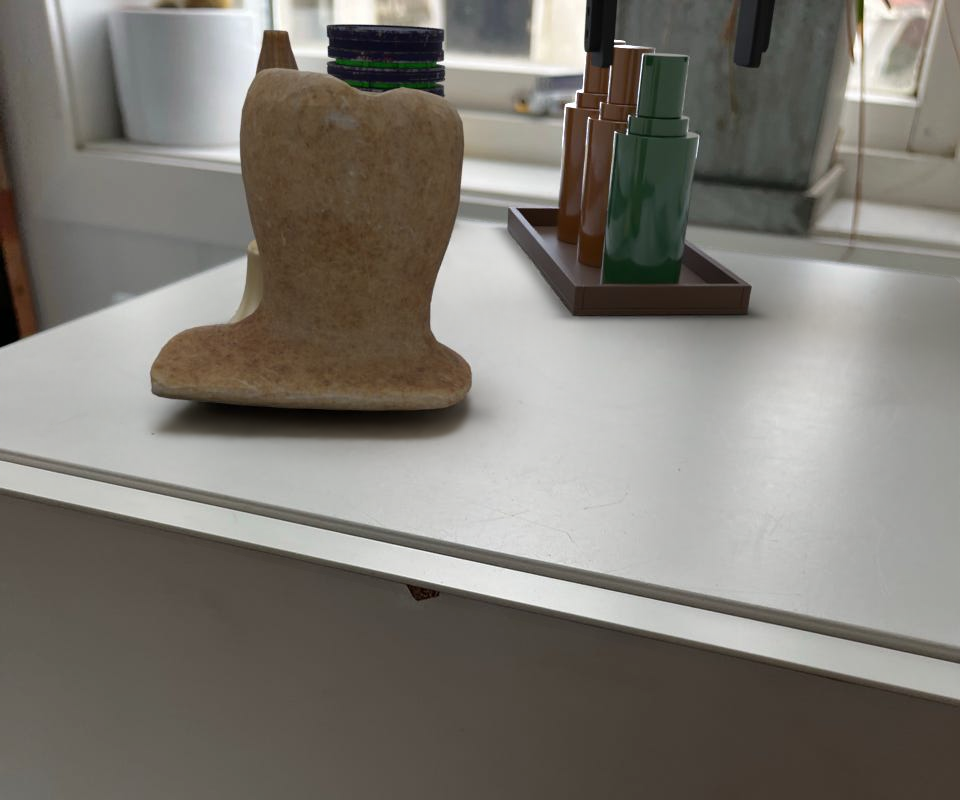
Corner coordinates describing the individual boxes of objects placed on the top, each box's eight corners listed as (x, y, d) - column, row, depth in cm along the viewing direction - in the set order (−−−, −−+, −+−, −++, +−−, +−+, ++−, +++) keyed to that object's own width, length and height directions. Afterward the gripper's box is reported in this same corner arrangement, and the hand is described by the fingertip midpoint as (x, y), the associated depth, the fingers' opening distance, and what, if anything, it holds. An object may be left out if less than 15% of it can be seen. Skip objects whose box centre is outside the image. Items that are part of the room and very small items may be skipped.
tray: (639, 230, 91) (642, 207, 90) (747, 314, 69) (752, 285, 68) (507, 229, 90) (508, 206, 89) (573, 315, 67) (575, 286, 66)
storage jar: (452, 214, 94) (455, 28, 86) (432, 236, 86) (434, 32, 78) (348, 207, 95) (342, 22, 87) (319, 228, 87) (309, 26, 79)
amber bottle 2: (636, 252, 82) (660, 45, 74) (656, 269, 77) (684, 50, 69) (569, 252, 81) (585, 43, 73) (585, 269, 76) (604, 48, 68)
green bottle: (664, 277, 75) (694, 53, 67) (688, 297, 71) (722, 59, 63) (591, 277, 74) (612, 50, 66) (610, 297, 70) (635, 56, 62)
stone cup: (474, 363, 58) (483, 64, 50) (468, 442, 48) (478, 85, 40) (211, 353, 58) (177, 52, 50) (151, 430, 48) (96, 70, 40)
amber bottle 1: (612, 231, 88) (631, 39, 80) (629, 246, 84) (651, 43, 76) (550, 231, 88) (563, 37, 80) (563, 246, 83) (578, 41, 75)
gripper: (829, -271, 60) (779, 62, 69) (542, -283, 58) (531, 62, 67) (889, -299, 53) (826, 71, 63) (570, -314, 51) (554, 71, 61)
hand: (674, 66), depth 65 cm, fingers open, 9 cm apart
